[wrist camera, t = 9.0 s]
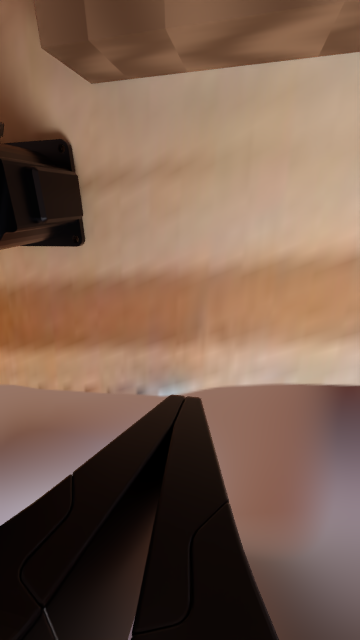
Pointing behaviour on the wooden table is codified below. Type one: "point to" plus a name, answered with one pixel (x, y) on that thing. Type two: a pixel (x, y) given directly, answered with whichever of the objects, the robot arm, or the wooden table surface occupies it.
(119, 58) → the block
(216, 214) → the wooden table surface
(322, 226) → the wooden table surface
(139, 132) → the wooden table surface
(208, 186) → the wooden table surface
